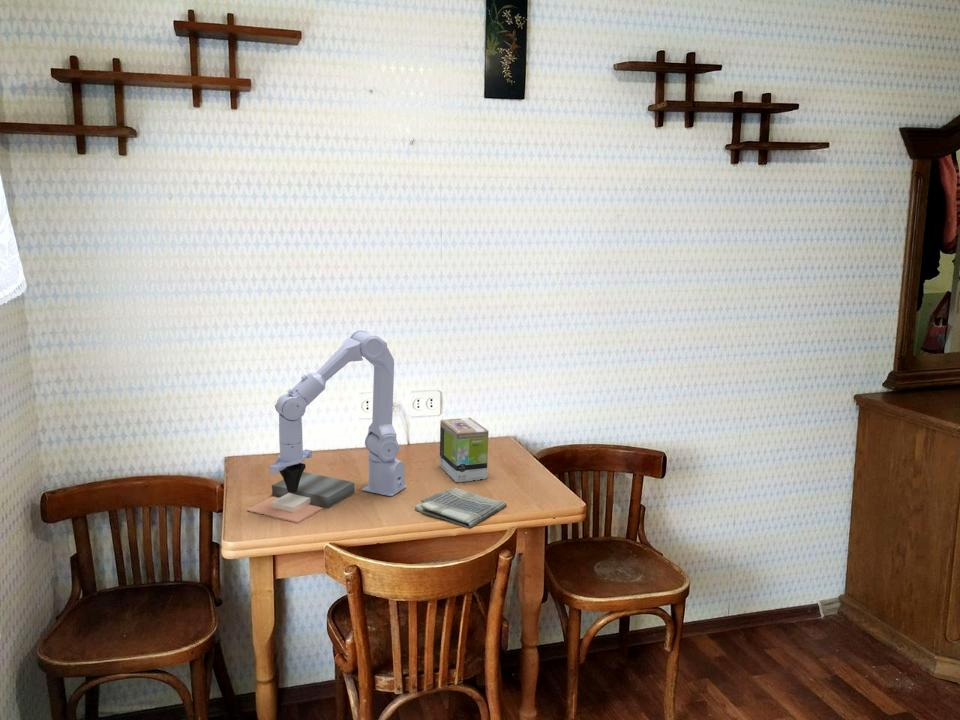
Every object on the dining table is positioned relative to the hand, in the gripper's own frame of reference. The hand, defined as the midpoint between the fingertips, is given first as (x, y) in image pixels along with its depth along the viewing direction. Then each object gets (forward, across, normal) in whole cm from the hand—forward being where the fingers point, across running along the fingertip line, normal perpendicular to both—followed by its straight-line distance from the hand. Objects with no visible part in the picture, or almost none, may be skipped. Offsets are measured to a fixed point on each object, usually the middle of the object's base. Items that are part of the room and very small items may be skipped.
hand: (292, 491), depth 198 cm
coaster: (+3, +1, 0) cm, 3 cm away
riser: (+4, -9, 0) cm, 10 cm away
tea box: (+4, -43, +28) cm, 51 cm away
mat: (+4, +3, 0) cm, 5 cm away
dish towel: (+5, -19, +39) cm, 44 cm away
